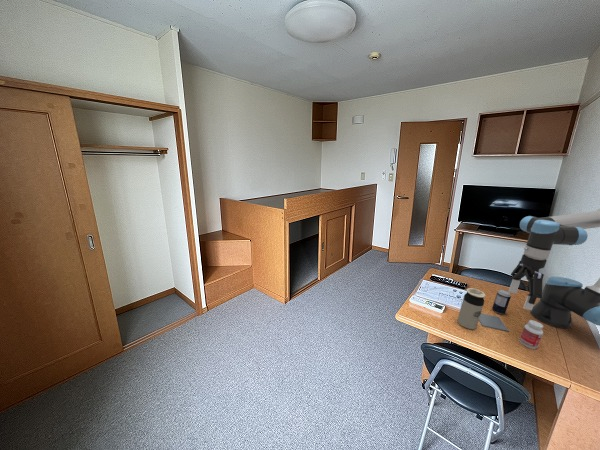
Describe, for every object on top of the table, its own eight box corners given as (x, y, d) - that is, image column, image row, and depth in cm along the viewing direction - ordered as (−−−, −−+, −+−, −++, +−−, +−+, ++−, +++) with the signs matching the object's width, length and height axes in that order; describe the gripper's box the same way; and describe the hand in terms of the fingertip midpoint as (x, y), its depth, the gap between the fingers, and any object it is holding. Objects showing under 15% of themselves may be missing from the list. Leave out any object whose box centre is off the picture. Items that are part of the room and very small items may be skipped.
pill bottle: (536, 351, 104) (545, 330, 101) (517, 343, 109) (525, 322, 106) (537, 344, 109) (546, 324, 105) (519, 337, 113) (527, 316, 110)
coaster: (498, 317, 126) (498, 316, 126) (508, 331, 116) (509, 330, 116) (474, 312, 129) (474, 311, 129) (482, 326, 119) (482, 325, 119)
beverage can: (507, 315, 128) (514, 295, 125) (495, 313, 129) (501, 294, 126) (501, 309, 133) (507, 290, 130) (489, 307, 134) (495, 288, 131)
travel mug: (453, 318, 124) (462, 287, 119) (469, 319, 123) (479, 288, 118) (463, 329, 116) (472, 296, 111) (480, 330, 116) (490, 297, 111)
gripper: (510, 245, 114) (497, 284, 121) (540, 267, 92) (523, 314, 98) (530, 247, 112) (516, 288, 118) (565, 271, 90) (546, 319, 96)
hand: (519, 300), depth 108 cm, fingers open, 13 cm apart
